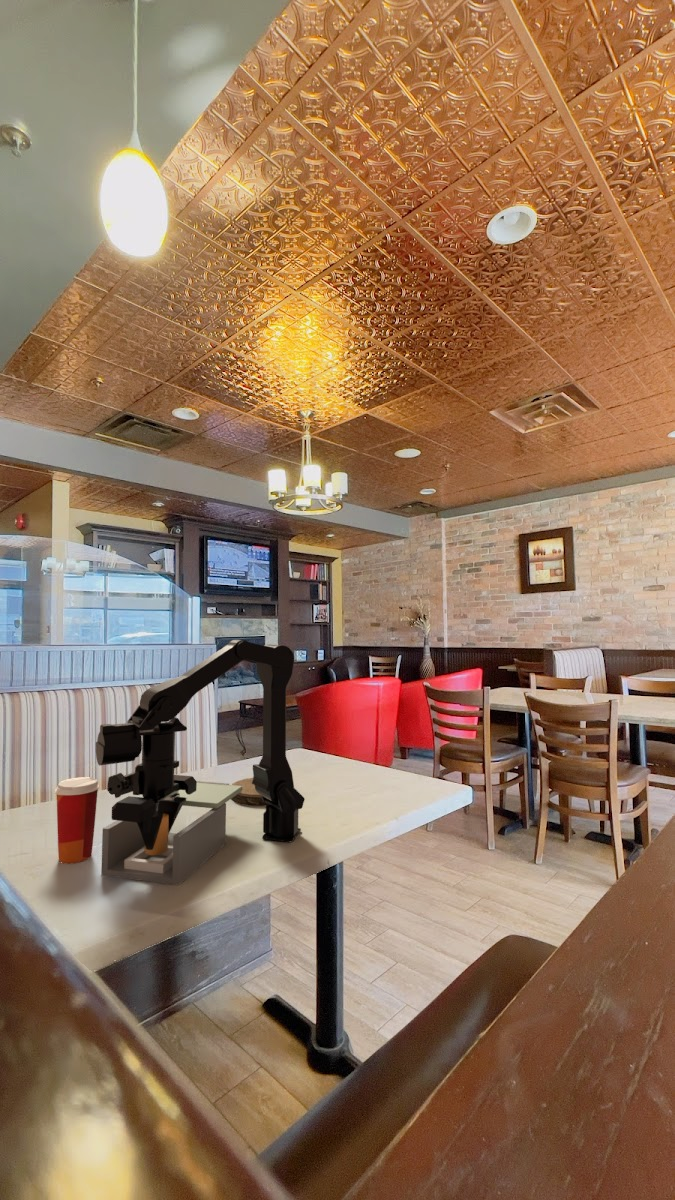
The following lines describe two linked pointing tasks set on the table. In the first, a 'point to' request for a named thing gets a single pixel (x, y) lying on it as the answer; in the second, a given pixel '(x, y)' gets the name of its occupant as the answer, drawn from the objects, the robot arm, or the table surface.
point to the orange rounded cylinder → (161, 838)
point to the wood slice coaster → (248, 794)
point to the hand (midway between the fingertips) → (156, 844)
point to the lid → (210, 794)
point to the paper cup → (76, 818)
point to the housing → (171, 867)
